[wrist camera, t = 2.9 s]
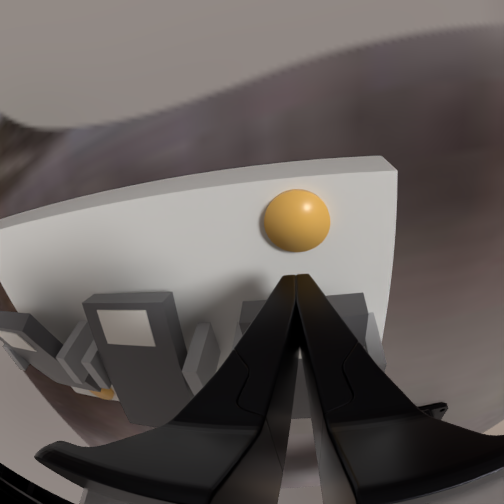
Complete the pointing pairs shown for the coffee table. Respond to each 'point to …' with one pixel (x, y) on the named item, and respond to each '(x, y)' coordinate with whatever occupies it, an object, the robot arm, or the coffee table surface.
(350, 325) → the switch
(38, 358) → the switch
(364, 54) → the coffee table surface
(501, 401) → the coffee table surface
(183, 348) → the switch
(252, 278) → the switch panel
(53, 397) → the coffee table surface
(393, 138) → the coffee table surface
